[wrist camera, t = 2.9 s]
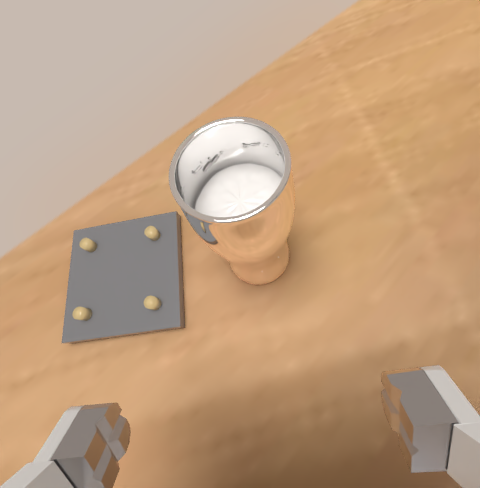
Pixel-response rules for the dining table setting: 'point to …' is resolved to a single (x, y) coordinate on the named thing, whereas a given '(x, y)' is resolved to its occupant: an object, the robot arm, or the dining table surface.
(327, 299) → the dining table surface
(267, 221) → the beer glass
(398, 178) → the dining table surface
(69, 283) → the coaster
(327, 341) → the dining table surface
